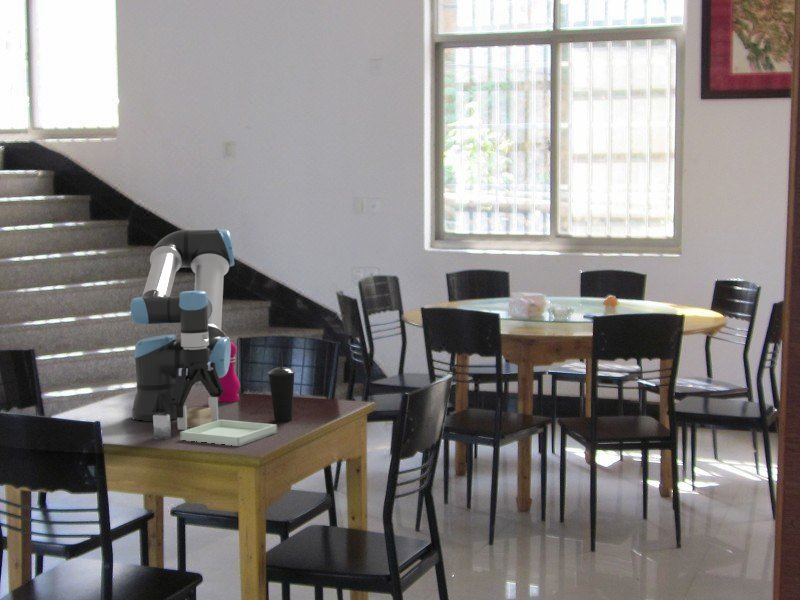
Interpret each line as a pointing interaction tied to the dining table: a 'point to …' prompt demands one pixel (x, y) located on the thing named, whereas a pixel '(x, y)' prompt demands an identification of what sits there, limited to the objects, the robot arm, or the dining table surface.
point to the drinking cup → (282, 391)
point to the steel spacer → (162, 426)
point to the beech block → (198, 416)
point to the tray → (229, 432)
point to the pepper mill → (230, 380)
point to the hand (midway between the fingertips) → (198, 424)
